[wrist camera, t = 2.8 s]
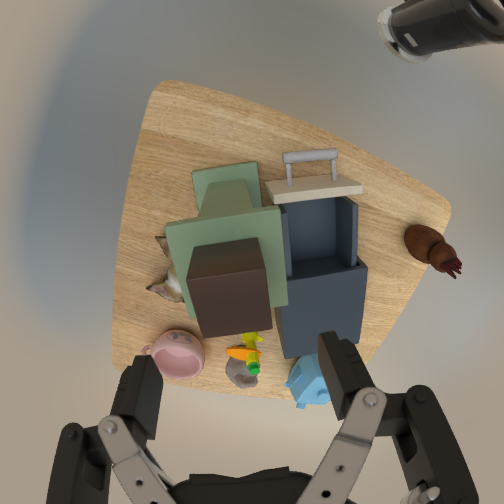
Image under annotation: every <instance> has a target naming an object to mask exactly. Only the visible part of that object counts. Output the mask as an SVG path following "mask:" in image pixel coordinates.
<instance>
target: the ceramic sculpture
mask: <svg viewBox="0 0 504 504" xmlns="http://www.w3.org/2000/svg"><path fill="white" fill-rule="evenodd" d="M155 239H156V240H157V241H158V242H159V244H160V246H161V248H162V249H163V252H164V254H165V255H166V256H167V258H168V259H169V260H171V261H172V264H171V266H170V267H169V269H168V271H167V274H166V279H165V278H162V279H159V280H157V281H156V282H154V283H153V284H151V285H149V286H147V287H146V289H147V290H150V291H154V292H156V293H158V294H159V295H160V296H162V297H164V298H165V299H167V300H169V301H173V302H183V303H185V301H184V298H183V295H182V291H181V288H180V285H179V281H178V278H177V274H176V271H175V267H174V264H173V260H172V256H171V253H170V249H169V245H168V242H167V238H166V236H155Z"/></svg>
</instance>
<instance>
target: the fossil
mask: <svg viewBox="0 0 504 504" xmlns="http://www.w3.org/2000/svg"><path fill="white" fill-rule="evenodd" d="M239 347H243V346H239ZM246 367H247V365H246V361H243V360H239V359H235V358H233V357H230V359H229V361H228V363H227V364H226V374H227V376H228V377H229V379H230V380H231V381H232V382H233V383H234V384H235V385H237V386H238V387H239V388H241V389H243V388H249V387H254V386H256V385H257V382H258V380H257V377H256V376H257V374H255V375H252V374H250V371H249V370H247V368H246Z"/></svg>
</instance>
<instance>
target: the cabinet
mask: <svg viewBox="0 0 504 504" xmlns="http://www.w3.org/2000/svg"><path fill="white" fill-rule="evenodd" d="M367 272H368V267H367V266H366V265H365V263H364V262H363V261H362V260H361V259H360V258H359V257H358V255H357V262H356V266H355V267H350V268H344V269H339V270H333V271H328V272H322V273H316V274H310V275H304V276H298V277H292V278H286V280H287V293H288V305H286V306H280V307H274V309H275V318H276V324H277V329H278V333H279V337H280V341H281V346H282V350H283V354H284V358H285V359H289V358H294V357H300V356H305V355H310V354H315V353H318V335H319V333H323V332H328V331H333V330H335V332H336V334H337V336H338V338H339V340H342V339H346V338H347V339H348V340H349V341H351V342H352V343H353V344H358V343H359V338H360V332H361V325H362V318H363V310H364V302H365V293H366V283H367Z"/></svg>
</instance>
